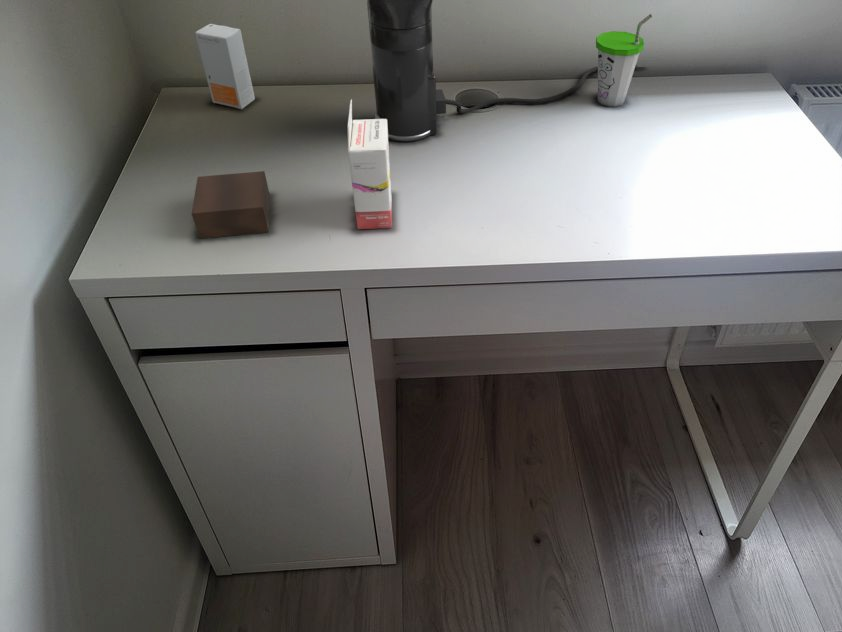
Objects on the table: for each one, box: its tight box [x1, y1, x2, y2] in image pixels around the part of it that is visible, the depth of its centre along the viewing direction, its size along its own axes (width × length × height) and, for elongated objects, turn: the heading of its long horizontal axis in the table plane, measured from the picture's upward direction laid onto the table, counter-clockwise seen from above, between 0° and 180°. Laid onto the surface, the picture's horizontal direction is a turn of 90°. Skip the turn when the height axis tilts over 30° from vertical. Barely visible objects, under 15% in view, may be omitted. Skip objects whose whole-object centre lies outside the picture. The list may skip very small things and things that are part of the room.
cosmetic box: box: [194, 23, 256, 110], centre depth 117 cm, size 6×4×12 cm
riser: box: [191, 170, 271, 239], centre depth 96 cm, size 9×9×4 cm
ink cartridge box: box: [346, 98, 393, 230], centre depth 93 cm, size 9×5×15 cm, turn 5°
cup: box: [595, 13, 653, 108], centre depth 117 cm, size 8×8×15 cm
